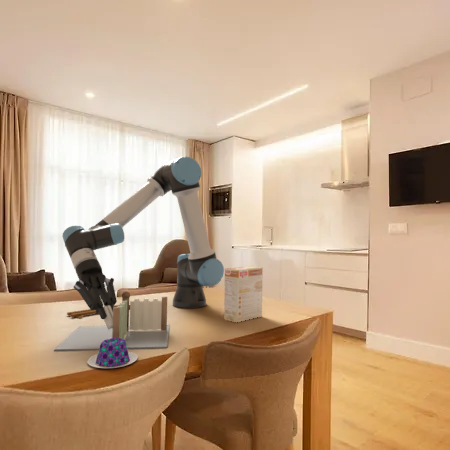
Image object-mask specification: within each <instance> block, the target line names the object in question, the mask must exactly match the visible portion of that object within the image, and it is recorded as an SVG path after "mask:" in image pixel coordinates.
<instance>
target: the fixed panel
mask: <svg viewBox="0 0 450 450" xmlns="http://www.w3.org/2000/svg"><path fill="white" fill-rule="evenodd" d="M129 305H130V308H129V326H130V330H159V329H161V330H162V331H165V330H167V325H168V296H162V297H161V300H159V298H157V297H156V298H155V297H154V298H153V299H152V300H150V299H149V297H146V298H145V297H144V298H143V300H140V298H139V297H138V298H135V297H134V300H129Z"/></svg>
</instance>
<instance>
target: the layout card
mask: <svg viewBox="0 0 450 450" xmlns="http://www.w3.org/2000/svg"><path fill="white" fill-rule="evenodd" d="M169 331H170V324H167V330H165V331H162V330H161V329H159V330H130V325H129V331H127V333H126V334H124V338H122V339H124V340H125V341H126V345H127V350H137V349H139V350H140V349H141V350H143V349H144V350H145V349H168V343H169V341H168V340H169ZM112 332H113V329H112V328H111V329H109V330H108V328H107V326H106V325H96V326H95V325H92V326H91V325H90V326H85V325H84V326H81V325H80V326H78V327H77V328H76V329H75V330H73V331H72V332H71V333H70V334H69V335H68V336H67V337H66V338H65V339H64V340H63V341H62V342H60V343H59V345H57V346H56V347H55V348H54V349H53V350H54V352H63V351H64V352H65V351H99V349H100V345H101V343H102V342H103V341H104V340H106V339H110V338H112Z"/></svg>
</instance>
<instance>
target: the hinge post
mask: <svg viewBox="0 0 450 450" xmlns="http://www.w3.org/2000/svg"><path fill="white" fill-rule="evenodd" d="M121 297H122V298H121V301H127V331H129V326H130V308H129V305H130V298H131V294H130V292H129V291H123V292H122V294H121Z"/></svg>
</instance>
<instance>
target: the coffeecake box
mask: <svg viewBox="0 0 450 450" xmlns="http://www.w3.org/2000/svg"><path fill="white" fill-rule="evenodd" d="M223 313H224V317H223V319H225V321H227V320H229V321H228V322H231V321H232V323H235V322H236V323H237V322H238V323H242V322H246V321H249V319H250V320H254V319H257V317H258V318H261V316H262V317H263V267H259V266H253V265H252V266H251V265H250V266H239V267H228V268H224V309H223ZM253 318H254V319H253ZM245 320H246V321H245ZM241 321H242V322H241ZM238 323H237V324H238Z"/></svg>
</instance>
